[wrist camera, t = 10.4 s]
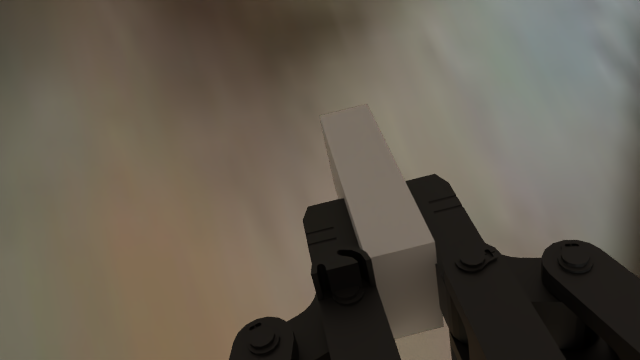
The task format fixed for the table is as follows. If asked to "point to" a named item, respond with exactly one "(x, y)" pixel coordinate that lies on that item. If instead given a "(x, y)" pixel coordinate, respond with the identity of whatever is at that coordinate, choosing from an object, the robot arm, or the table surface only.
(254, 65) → the table surface
